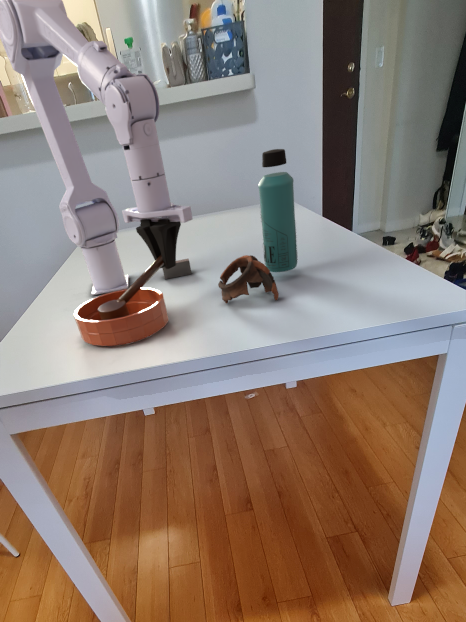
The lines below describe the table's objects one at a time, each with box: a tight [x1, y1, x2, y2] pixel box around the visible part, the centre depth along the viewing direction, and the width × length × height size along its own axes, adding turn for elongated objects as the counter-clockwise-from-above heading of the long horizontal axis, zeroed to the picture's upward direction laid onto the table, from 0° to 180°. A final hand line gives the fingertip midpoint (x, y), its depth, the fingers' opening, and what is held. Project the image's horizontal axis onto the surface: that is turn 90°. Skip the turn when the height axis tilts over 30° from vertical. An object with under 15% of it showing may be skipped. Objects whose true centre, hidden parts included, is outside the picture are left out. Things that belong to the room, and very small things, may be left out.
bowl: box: [73, 287, 169, 347], centre depth 78 cm, size 15×15×4 cm
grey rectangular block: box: [161, 258, 192, 280], centre depth 99 cm, size 2×6×3 cm, turn 100°
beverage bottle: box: [257, 148, 299, 273], centre depth 83 cm, size 6×7×20 cm
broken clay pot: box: [217, 254, 280, 304], centre depth 81 cm, size 12×10×8 cm
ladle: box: [98, 255, 164, 320], centre depth 79 cm, size 19×5×6 cm, turn 145°
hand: (167, 266), depth 83 cm, fingers closed on ladle
